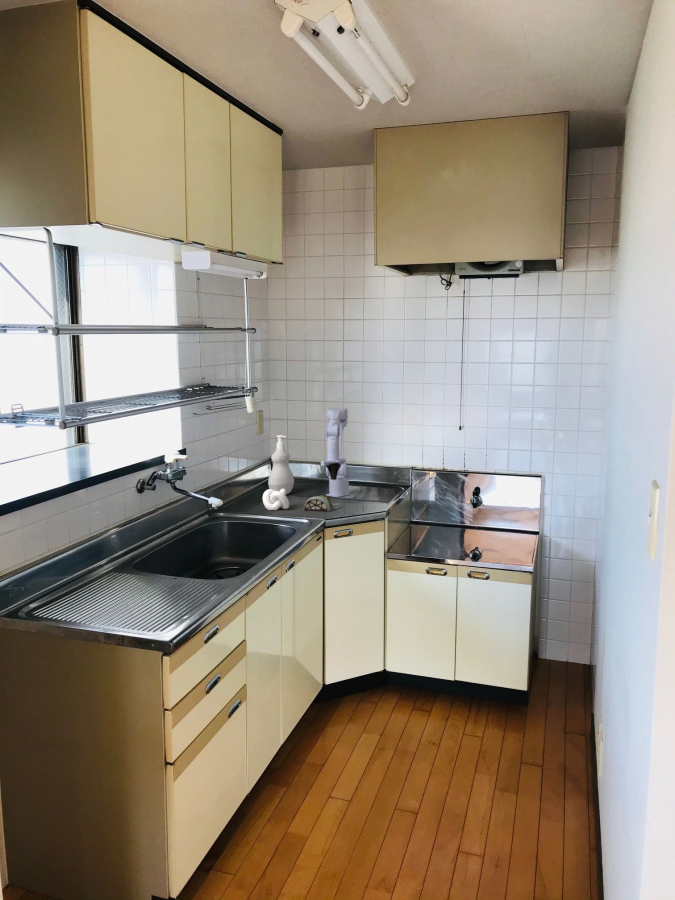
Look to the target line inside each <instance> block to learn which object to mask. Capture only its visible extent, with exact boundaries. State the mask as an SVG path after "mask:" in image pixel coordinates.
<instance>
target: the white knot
mask: <svg viewBox="0 0 675 900" xmlns="http://www.w3.org/2000/svg"><path fill="white" fill-rule="evenodd" d="M286 495H287V494H286V490H285V489H281V490H280V491H275V490H273V489H266V490H265V491H264V492H263V493H262V502H263V505H264V507H265V508H266V509H267V510H268V511H270V510H275V511H277V510H279V508H281V509H283V510H288V509H289V507H290V501H289V499H288V496H286Z"/></svg>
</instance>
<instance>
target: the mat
mask: <svg viewBox="0 0 675 900" xmlns="http://www.w3.org/2000/svg"><path fill="white" fill-rule="evenodd" d="M304 505H305V504H303V505H302V506H303V507H304ZM340 506H341V505H340ZM340 506H339V505H334V504H333V506H332V508H331V509H330V511H332V510H336V509H341V508H340Z"/></svg>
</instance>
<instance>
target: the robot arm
mask: <svg viewBox="0 0 675 900" xmlns="http://www.w3.org/2000/svg"><path fill="white" fill-rule="evenodd" d="M326 413H327V417H326V418H327V423H328V424H327V425H326V426H325V436H326V439H325V440H326V447H327V448H326V455H327V457H326V458H327V459H325V460H321V461H320V466H323V467H325V475H326V477H328V479H329V480H328V483H329V484H328V485H329V486H328V487H329V493H325V496H327V497H333V498H334V497H335V498H339V497H345V496H349V495H350V494H351V493H350V490H349V489H350V488H349V487H350V485H349V484H350V481H349V478H348V477H346V476H347V474H348V473H347V472H348V468H347V466H348V465H347V462H346V458H342V448H343V447H342V445H343V431H344V428H346V427H347V426H348V425H347V424H348V419H349V418H348V417H349V411H348V408H347V407H344V408H341V407H340V408H339V407H337V408H336V407H332V408H331V407H329V408H327V412H326Z"/></svg>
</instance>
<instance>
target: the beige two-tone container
mask: <svg viewBox="0 0 675 900" xmlns="http://www.w3.org/2000/svg"><path fill="white" fill-rule="evenodd" d="M303 505H304V506H303V511H323V512H324V511H325V512H326V511H327V512H330V511H331V510H330V509H331V508H332V506H333V505H334V504H333V502H332V499H331V498H330V497H329V496H327V495H326V494H325V495H323V494H321V495H318V496H316V495H315V496H312V497H309V499H307V500H306V501H305V503H304V504H303Z"/></svg>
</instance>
